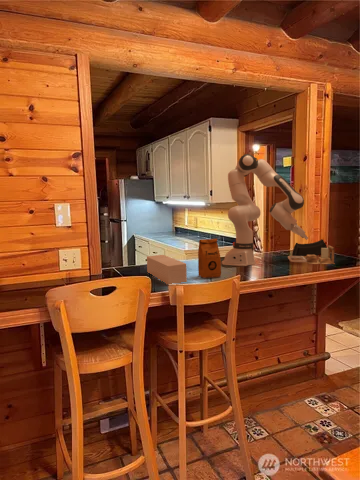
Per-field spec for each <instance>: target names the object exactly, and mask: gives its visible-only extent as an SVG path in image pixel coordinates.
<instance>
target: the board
mask: <svg viewBox="0 0 360 480" xmlns="http://www.w3.org/2000/svg"><path fill="white" fill-rule="evenodd" d="M328 251H329V248H328V247H327V248H321V254H320V257H321V258H328Z"/></svg>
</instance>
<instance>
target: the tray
mask: <svg viewBox="0 0 360 480" xmlns="http://www.w3.org/2000/svg"><path fill="white" fill-rule="evenodd" d="M287 259H288V260H289V262H291V263H307V260H306V257H305V256H292V255H288V256H287Z"/></svg>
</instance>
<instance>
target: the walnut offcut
mask: <svg viewBox="0 0 360 480" xmlns="http://www.w3.org/2000/svg"><path fill="white" fill-rule="evenodd" d="M305 259H306V260H307V262H306V263H307V264H308V263H317V260H318V257H317V258H313V259H309V258H307V256H305Z"/></svg>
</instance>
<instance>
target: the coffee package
mask: <svg viewBox="0 0 360 480" xmlns="http://www.w3.org/2000/svg"><path fill="white" fill-rule="evenodd" d="M218 244H219V243H218V238H209V239H208V238H207V239H205V238H203V239H199V240H198V252H197V256H198V257H197V258H198V261H197V262H198V264H197V265H198V266H197V268H198V269H197V270H198V276H199V277H201V278H204V279H209V278H221V276H222V260H221V253H220V250H219V245H218Z"/></svg>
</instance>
